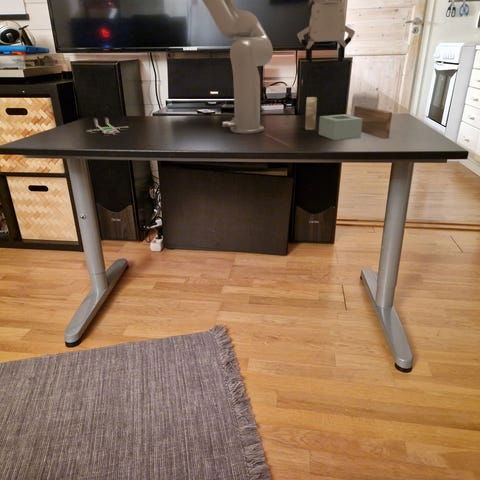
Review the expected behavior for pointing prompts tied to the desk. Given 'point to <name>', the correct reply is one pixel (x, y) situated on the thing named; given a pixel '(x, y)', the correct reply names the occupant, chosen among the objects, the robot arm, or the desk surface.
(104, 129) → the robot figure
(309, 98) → the dowel
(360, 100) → the photo printer
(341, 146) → the desk surface
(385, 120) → the board
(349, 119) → the block
